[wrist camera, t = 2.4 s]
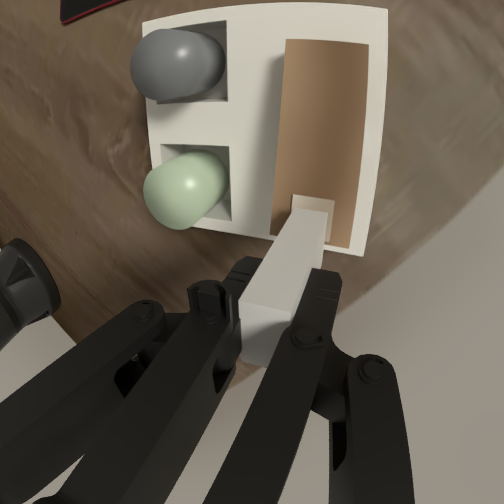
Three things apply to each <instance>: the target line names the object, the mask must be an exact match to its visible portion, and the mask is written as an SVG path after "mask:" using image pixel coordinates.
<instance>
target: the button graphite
mask: <svg viewBox="0 0 504 504" xmlns="http://www.w3.org/2000/svg"><path fill="white" fill-rule="evenodd" d="M225 65H226V58H225V53H224V50H223V48H222V46H221V45H220V43H219V42H218V41H217V40H216V39H215V38H213V37H211V36H209V35H207V34H203V33H196V32H189V31H182V30H174V29H158V30H154V31H152V32H150V33H149V34H147V35H146V36H144V37H143V38H142V39H141V40H140V42H139V43H138V44H137V46H136V48H135V50H134V52H133V55H132V59H131V76H132V80H133V82H134V84H135V86H136V88H137V89H138V91H139V92H140V93H141V94H142V95H144V96H145V97H147V98H149V99H152V100H156V101H163V100H168V99H173V98H178V97H183V96H189V95H194V94H200V93H204V92H206V91H208V90H210V89H212V88H213V87H214V86H215V85H216V84H217V83H218V82H219V81H220V79H221V78H222V76H223V73H224V70H225Z"/></svg>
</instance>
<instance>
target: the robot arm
mask: <svg viewBox="0 0 504 504" xmlns="http://www.w3.org/2000/svg"><path fill="white" fill-rule="evenodd" d="M327 216H328V213H327V212H321V211H314V210H308V209H302V208H294V209H293V211H292V213H291V214H290V216H289V218H288V219H287V221H286V223H285V224H284V226H283V228H282V229H281V231H280V233H279V234H278V236H277V238H276V239H275V241H274V243H273V244H272V246H271V248H270V249H269V251H268V253H267V254H266V256H265V258H264V259H260V258H255V257H250V256H246V257H244V258H243V259H241V260H239V261H238V262H236V264H235V265H234V267H233V268H232V269H231V272H229V274H228V275H227V276H226V279H224V280H223V282H219V281H216V280H204V281H199V282H197V283H194V284H192V285H191V286H190V287H189V288H187V292H188V298H189V304H190V311H189V313H164V310H163V306H162V305H161V304H160V303H159V302H156V301H153V300H142V301H138V302H136V303H134V304H132V305H130V306H129V307H127V308H126V309H125V310H123V311H122V312H120V313H119V314H118V315H116V316H115V317H114V318H112V319H111V320H109V321H108V322H107V323H105V324H104V325H103V326H101V327H100V328H99V329H97V330H96V331H94V332H93V333H92V334H90V335H89V336H88V337H86V338H85V339H84V340H82V341H81V342H80V343H78V344H77V345H76V346H74V347H73V348H72V349H70V350H69V351H68V352H66V353H65V354H64V355H62V356H61V357H60V358H58V359H57V360H56V361H54V362H53V363H52V364H50V365H49V366H48V367H46V368H45V369H44V370H42V371H41V372H40V373H38V374H37V375H36V376H35V377H33V378H32V379H31V380H30V381H28V382H27V383H26V384H24V385H23V386H22V387H20V388H19V389H18V390H16V391H15V392H14V393H13V394H11V395H10V396H9V397H8V398H6V399H5V400H4V401H2V402H1V403H0V504H22V503H24V502H26V501H27V500H29V499H30V498H32V497H33V496H35V495H36V494H37V493H38V492H40V490H42V489H43V488H44V487H46V486H47V485H48V484H49V483H51V482H52V481H53V480H54V479H55V478H57V477H58V476H59V475H60V474H61V473H63V472H64V471H65V470H66V469H67V468H68V467H70V466H71V465H72V464H73V463H74V462H76V461H77V460H78V459H79V458H80V457H81V456H83V455H84V454H85V455H84V456H83V457H82V459H81V460H80V462H79V463H78V464H77V466H76V467H75V469H74V470H73V471H72V473H71V474H70V476H69V477H68V478H67V480H66V481H65V483H64V484H63V485H62V487H61V488H60V490H59V491H58V492H57V493H56V494H55V495H53V496H49V497H43V498H40V499H38V500H36V501H35V502H33V504H164V503H165V501H166V499H167V498H168V496H169V494H170V492H171V491H172V489H173V487H174V485H175V484H176V482H177V480H178V478H179V477H180V475H181V473H182V471H183V470H184V468H185V466H186V464H187V462H188V460H189V459H190V457H191V455H192V453H193V452H194V450H195V448H196V446H197V444H198V442H199V441H200V439H201V437H202V435H203V433H204V431H205V429H206V427H207V425H208V424H209V422H210V420H211V418H212V416H213V414H214V412H215V411H216V409H217V407H218V405H219V403H220V401H221V399H222V397H223V395H224V394H225V392H226V390H227V388H228V386H229V384H230V382H231V380H232V378H233V376H234V374H235V370H236V360H237V358H238V356H239V354H240V352H241V361H243V362H247V363H250V364H254V365H258V366H261V367H265V368H267V370H266V372H265V374H264V377H263V379H262V381H261V384H260V386H259V388H258V390H257V393H256V395H255V397H254V399H253V401H252V404H251V406H250V408H249V410H248V412H247V414H246V417H245V419H244V421H243V423H242V425H241V427H240V429H239V432H238V434H237V436H236V438H235V440H234V442H233V444H232V446H231V448H230V450H229V452H228V454H227V456H226V459H225V461H224V463H223V465H222V467H221V469H220V471H219V473H218V474H217V476H216V479H215V480H214V483H213V484H212V486H211V488H210V490H209V492H208V494H207V496H206V498H205V500H204V502H203V503H202V504H277V503H278V501H279V498H280V496H281V493H282V491H283V488H284V485H285V483H286V480H287V477H288V475H289V472H290V469H291V467H292V464H293V461H294V458H295V455H296V453H297V450H298V447H299V444H300V441H301V438H302V435H303V431H304V428H305V425H306V423H307V419H308V416H309V413H310V410H312V411H314V412H315V413H317V414H319V415H321V416H322V417H324V418H326V419H328V420H329V504H415V499H414V488H413V478H412V469H411V461H410V454H409V446H408V439H407V433H406V427H405V421H404V415H403V409H402V404H401V399H400V393H399V388H398V384H397V379H396V374H395V372H394V369H393V366H392V365H391V364H390V363H389V362H388V361H387V360H386V359H384V358H382V357H380V356H378V355H373V354H365V355H360V356H358V357H356V358H353V357H351V356H349V355H347V354H345V353H344V352H342V351H341V350H340V349H339V348H338V347H337V346H336V345H335V344H334V342H333V340H332V336H331V332H332V328H333V324H334V319H335V315H336V311H337V306H338V301H339V297H340V292H341V287H342V280H341V277H340V275H339V273H337V272H332V271H327V270H322V269H320V268H321V265H322V257H323V250H324V242H325V234H326V225H327ZM59 306H60V297H59V293H58V290H57V288H56V285H55V283H54V281H53V279H52V277H51V275H50V273H49V271H48V270H47V268H46V266H45V265H44V263H43V262H42V260H41V259H40V258H39V256H38V255H37V254H36V253H35V251H34V250H33V249H32V248H31V247H30V246H29V245H28V244H26V243H25V242H24V241H22V240H20V239H13V240H12V241H10V242H9V243H8V244H6V245H5V246H4V247H3V249H2V250H1V252H0V351H1V350H2V349H3V348H4V347H5V346H6V345H7V344H8V343H9V342H10V341H11V340H12V339H13V338H14V336H16V334H17V333H18V332H19V331H20V330H22V329H23V328H24V327H25V326H27V325H30V324H32V323H34V322H36V321H39V320H41V319H43V318H46V317H48V316H50V315H52V314H53V313H54V312H55V311H56V310H57V309H58V308H59ZM136 354H137V356H136V357H134V356H135V355H136ZM132 357H134V358H132Z"/></svg>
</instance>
